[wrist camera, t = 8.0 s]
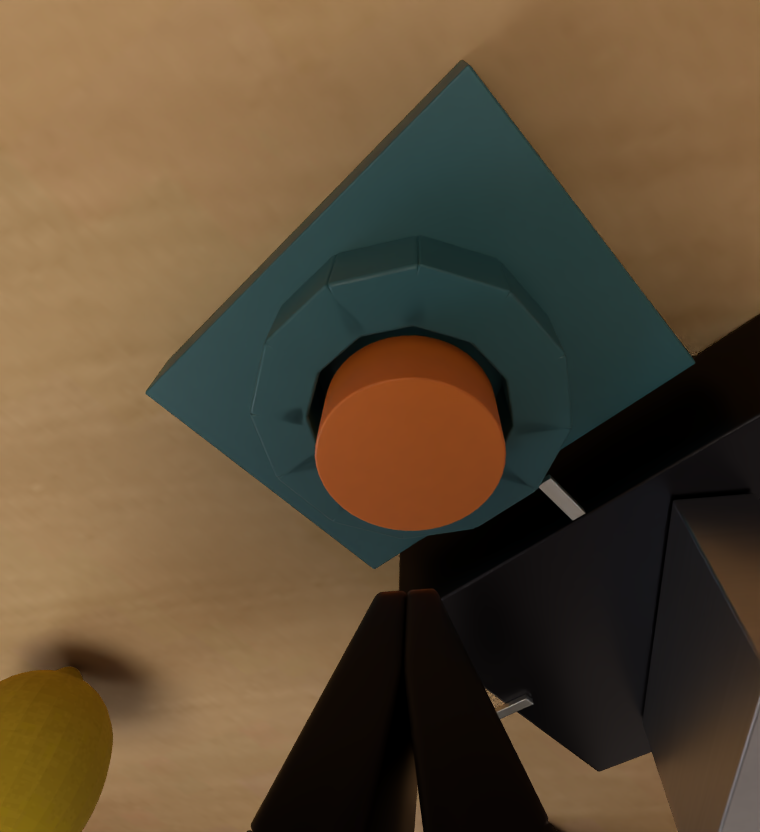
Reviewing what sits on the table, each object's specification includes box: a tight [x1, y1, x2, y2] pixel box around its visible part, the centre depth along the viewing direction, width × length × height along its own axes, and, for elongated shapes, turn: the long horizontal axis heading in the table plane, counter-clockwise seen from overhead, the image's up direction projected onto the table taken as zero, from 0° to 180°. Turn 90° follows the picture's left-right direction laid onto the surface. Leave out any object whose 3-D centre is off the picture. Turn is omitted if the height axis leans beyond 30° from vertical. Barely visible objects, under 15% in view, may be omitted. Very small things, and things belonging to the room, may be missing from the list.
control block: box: [146, 60, 695, 569], centre depth 14 cm, size 10×8×4 cm
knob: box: [642, 493, 760, 832], centre depth 14 cm, size 9×2×5 cm, turn 9°
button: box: [315, 335, 506, 531], centre depth 12 cm, size 4×4×2 cm
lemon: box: [0, 667, 113, 832], centre depth 20 cm, size 6×6×8 cm
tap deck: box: [399, 315, 760, 771], centre depth 18 cm, size 13×13×3 cm
